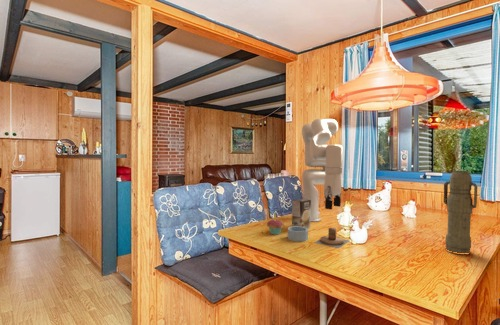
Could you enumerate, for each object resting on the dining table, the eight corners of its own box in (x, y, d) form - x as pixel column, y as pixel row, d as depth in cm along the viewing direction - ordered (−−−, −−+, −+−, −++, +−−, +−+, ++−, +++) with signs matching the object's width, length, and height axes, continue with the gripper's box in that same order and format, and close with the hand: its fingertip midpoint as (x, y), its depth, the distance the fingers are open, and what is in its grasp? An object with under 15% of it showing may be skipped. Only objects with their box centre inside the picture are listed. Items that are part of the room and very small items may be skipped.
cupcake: (282, 236, 146) (282, 212, 145) (265, 235, 147) (265, 211, 147) (283, 231, 154) (284, 209, 154) (268, 230, 156) (268, 208, 155)
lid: (326, 236, 144) (326, 224, 144) (347, 241, 137) (347, 228, 137) (316, 242, 136) (316, 228, 135) (338, 246, 129) (338, 233, 129)
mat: (326, 236, 146) (326, 235, 146) (349, 241, 138) (349, 240, 138) (313, 243, 135) (313, 242, 135) (338, 249, 127) (338, 248, 127)
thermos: (444, 246, 133) (447, 170, 131) (476, 252, 124) (479, 171, 123) (438, 250, 127) (441, 170, 125) (472, 257, 118) (475, 172, 117)
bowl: (294, 235, 148) (294, 225, 148) (311, 238, 142) (311, 228, 142) (284, 239, 140) (284, 229, 140) (301, 243, 134) (301, 232, 134)
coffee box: (301, 231, 155) (301, 201, 154) (291, 229, 159) (291, 200, 159) (310, 228, 161) (311, 199, 160) (301, 226, 166) (301, 198, 165)
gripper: (333, 170, 144) (332, 204, 144) (317, 171, 131) (317, 209, 131) (348, 170, 139) (347, 206, 140) (333, 172, 126) (333, 211, 126)
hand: (332, 207), depth 135 cm, fingers open, 9 cm apart
